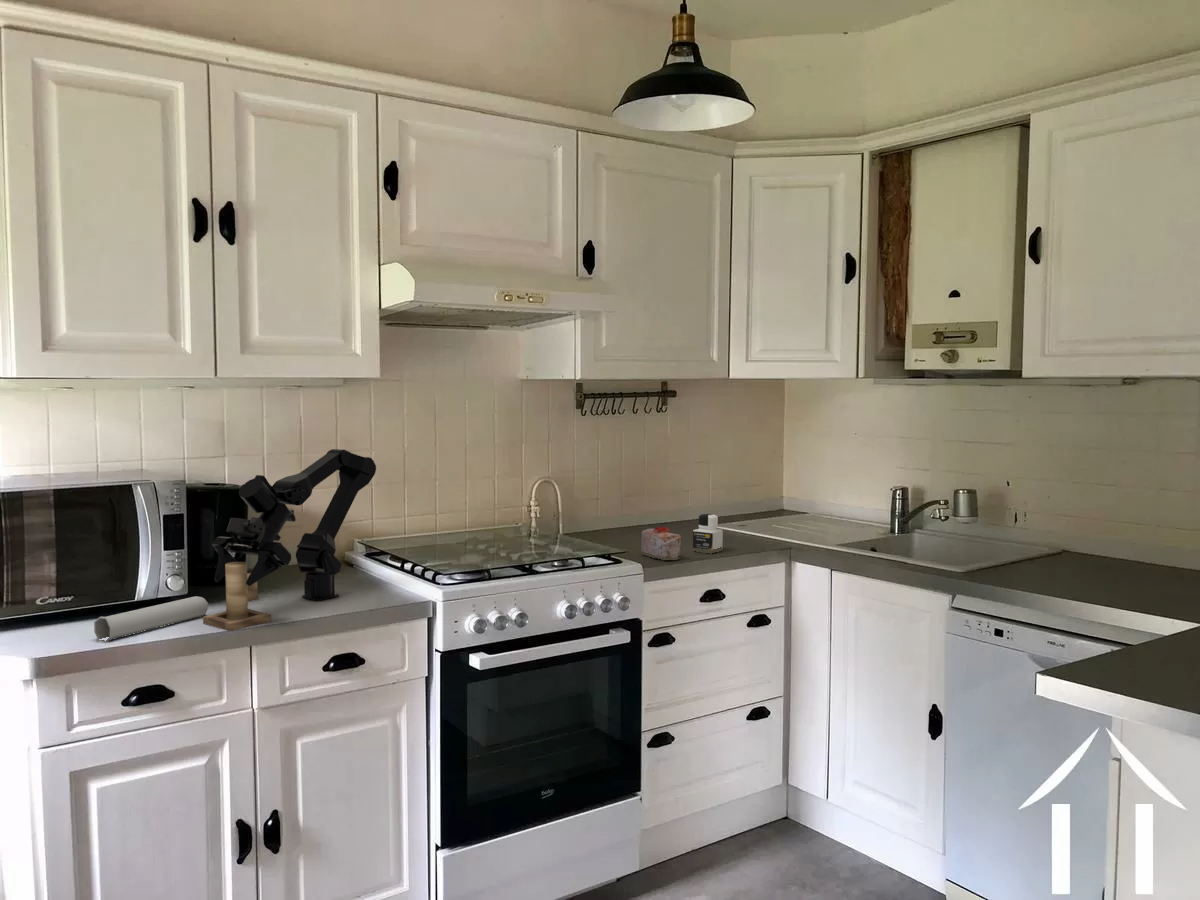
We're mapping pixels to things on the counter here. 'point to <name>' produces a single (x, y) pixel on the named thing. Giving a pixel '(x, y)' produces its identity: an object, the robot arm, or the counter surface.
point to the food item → (660, 542)
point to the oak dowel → (236, 590)
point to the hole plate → (224, 623)
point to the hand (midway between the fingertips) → (231, 582)
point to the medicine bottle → (708, 533)
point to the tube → (149, 617)
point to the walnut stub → (252, 590)
